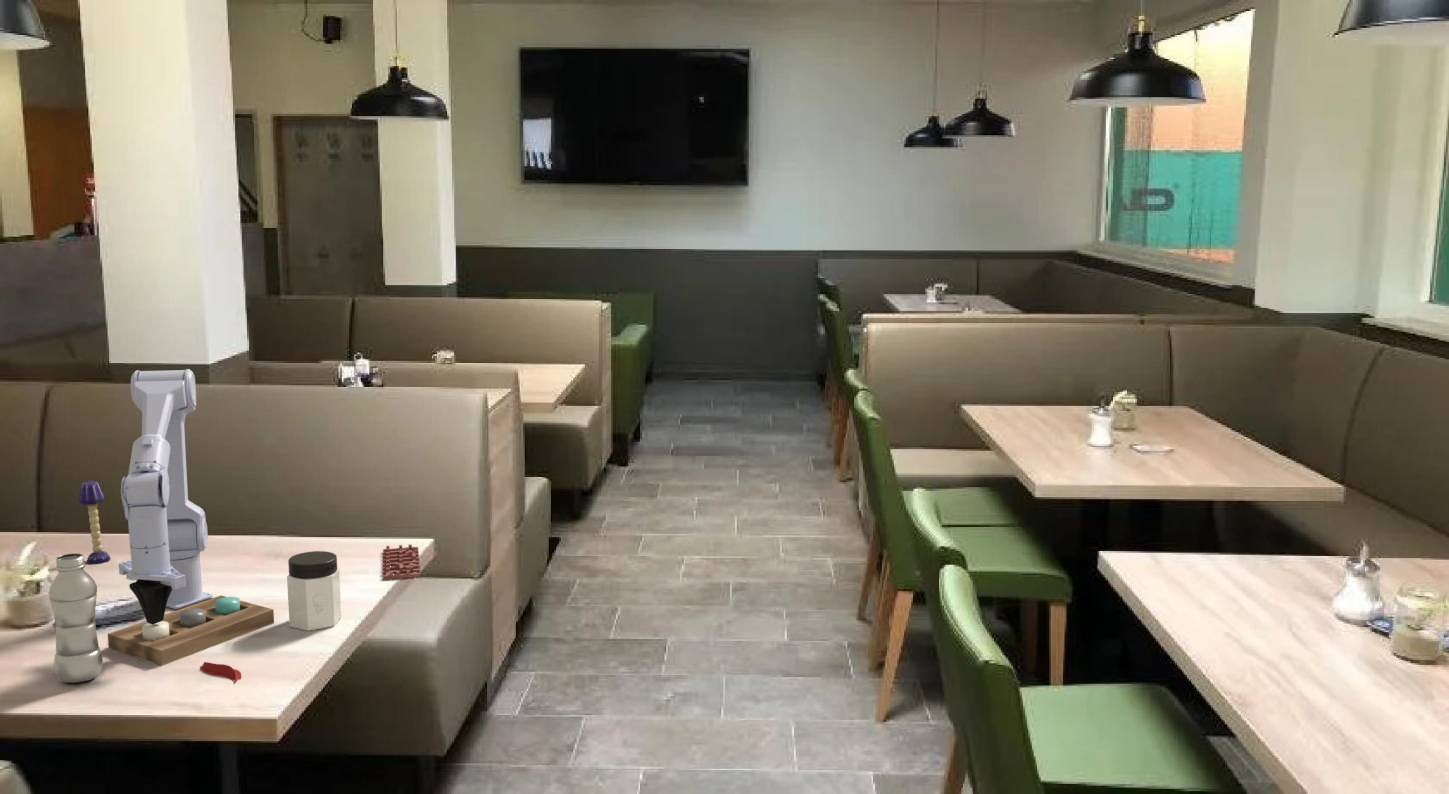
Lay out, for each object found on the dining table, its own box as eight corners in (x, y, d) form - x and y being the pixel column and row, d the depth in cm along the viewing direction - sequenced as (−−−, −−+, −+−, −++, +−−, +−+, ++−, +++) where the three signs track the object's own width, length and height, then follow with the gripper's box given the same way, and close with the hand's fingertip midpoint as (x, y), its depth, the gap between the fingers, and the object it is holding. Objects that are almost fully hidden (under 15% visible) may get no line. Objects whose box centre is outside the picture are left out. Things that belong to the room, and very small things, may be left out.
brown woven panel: (382, 583, 228) (382, 574, 228) (383, 555, 246) (383, 546, 246) (420, 581, 230) (420, 571, 230) (418, 552, 248) (417, 543, 248)
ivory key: (138, 642, 192) (136, 626, 192) (159, 635, 196) (158, 619, 195) (153, 647, 190) (152, 631, 190) (175, 639, 194) (173, 624, 193)
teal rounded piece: (211, 617, 204) (210, 602, 204) (230, 610, 208) (229, 595, 207) (226, 621, 203) (225, 606, 202) (245, 614, 206) (244, 599, 206)
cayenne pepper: (248, 684, 181) (247, 672, 181) (217, 692, 178) (216, 680, 178) (226, 659, 190) (225, 648, 190) (196, 666, 187) (195, 655, 187)
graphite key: (175, 629, 198) (174, 614, 198) (196, 622, 202) (195, 607, 201) (190, 634, 197) (189, 618, 196) (211, 626, 200) (210, 611, 199)
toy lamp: (93, 565, 235) (87, 486, 232) (78, 562, 237) (71, 483, 234) (115, 559, 239) (108, 481, 236) (100, 556, 241) (93, 478, 238)
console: (108, 648, 193) (107, 633, 193) (221, 608, 212) (220, 595, 212) (162, 665, 187) (161, 650, 186) (274, 622, 206) (273, 609, 205)
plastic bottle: (67, 671, 184) (56, 550, 180) (111, 670, 184) (101, 550, 181) (47, 688, 177) (35, 563, 174) (93, 687, 178) (82, 563, 174)
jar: (295, 634, 200) (292, 568, 198) (284, 620, 207) (280, 555, 205) (347, 624, 205) (344, 560, 203) (335, 610, 212) (332, 548, 210)
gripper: (99, 542, 190) (105, 621, 193) (155, 557, 183) (161, 638, 186) (138, 532, 196) (144, 608, 199) (194, 545, 189) (199, 624, 192)
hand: (155, 622), depth 193 cm, fingers closed
